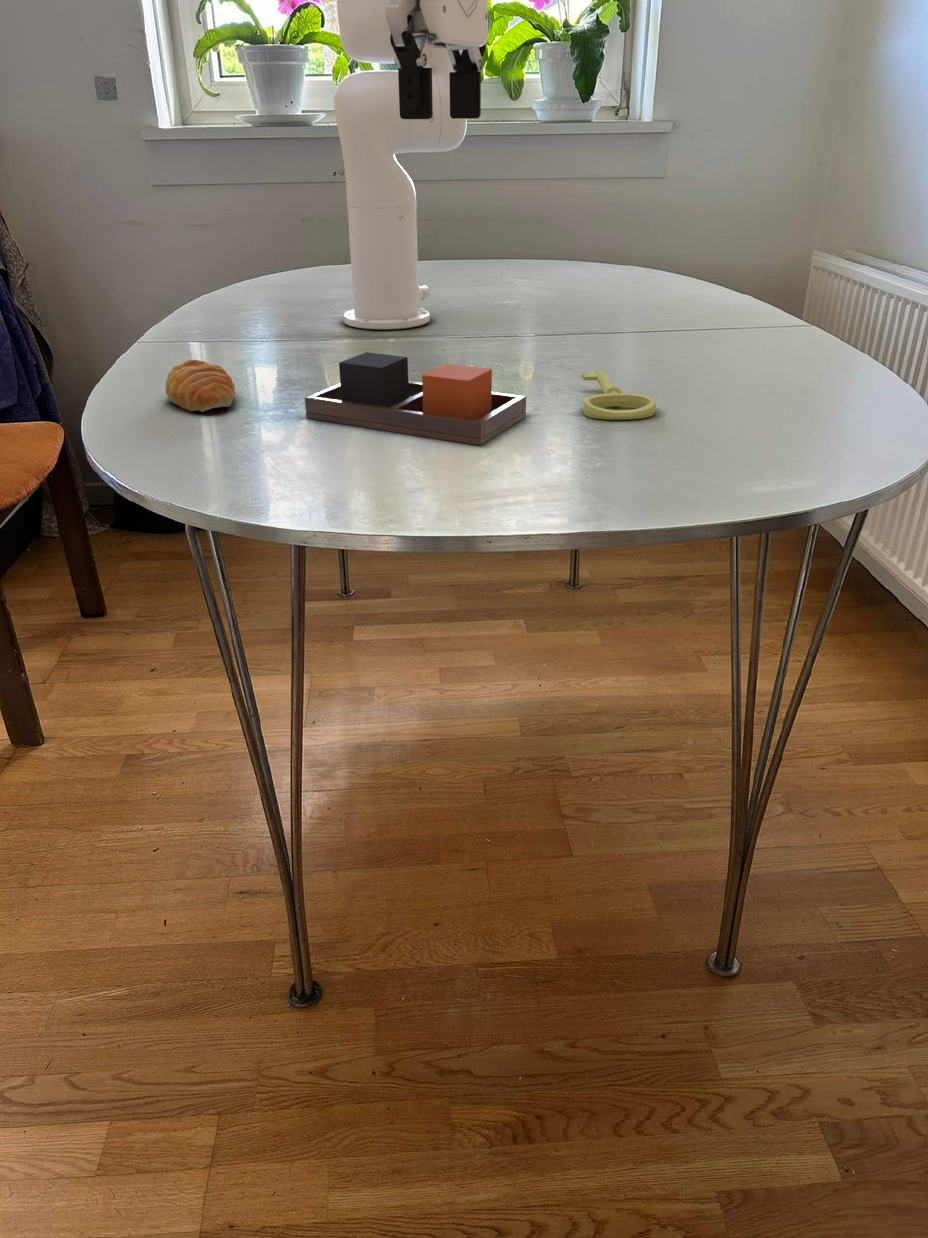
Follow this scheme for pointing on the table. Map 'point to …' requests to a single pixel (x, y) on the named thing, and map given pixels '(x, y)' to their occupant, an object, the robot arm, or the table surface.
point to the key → (615, 401)
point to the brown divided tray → (417, 416)
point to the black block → (374, 379)
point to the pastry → (199, 386)
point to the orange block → (457, 391)
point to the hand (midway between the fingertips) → (441, 118)
